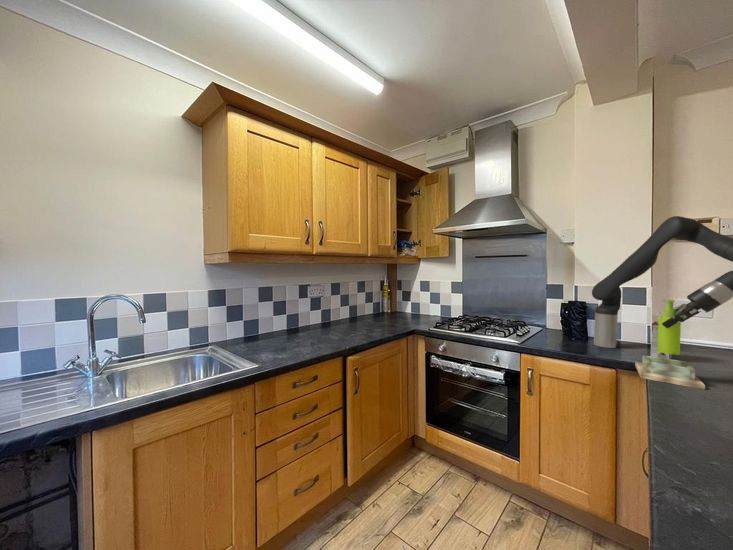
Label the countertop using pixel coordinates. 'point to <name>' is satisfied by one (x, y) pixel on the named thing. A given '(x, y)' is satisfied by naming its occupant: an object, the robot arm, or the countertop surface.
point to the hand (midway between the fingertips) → (662, 324)
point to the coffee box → (655, 343)
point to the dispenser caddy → (668, 371)
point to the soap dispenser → (668, 331)
